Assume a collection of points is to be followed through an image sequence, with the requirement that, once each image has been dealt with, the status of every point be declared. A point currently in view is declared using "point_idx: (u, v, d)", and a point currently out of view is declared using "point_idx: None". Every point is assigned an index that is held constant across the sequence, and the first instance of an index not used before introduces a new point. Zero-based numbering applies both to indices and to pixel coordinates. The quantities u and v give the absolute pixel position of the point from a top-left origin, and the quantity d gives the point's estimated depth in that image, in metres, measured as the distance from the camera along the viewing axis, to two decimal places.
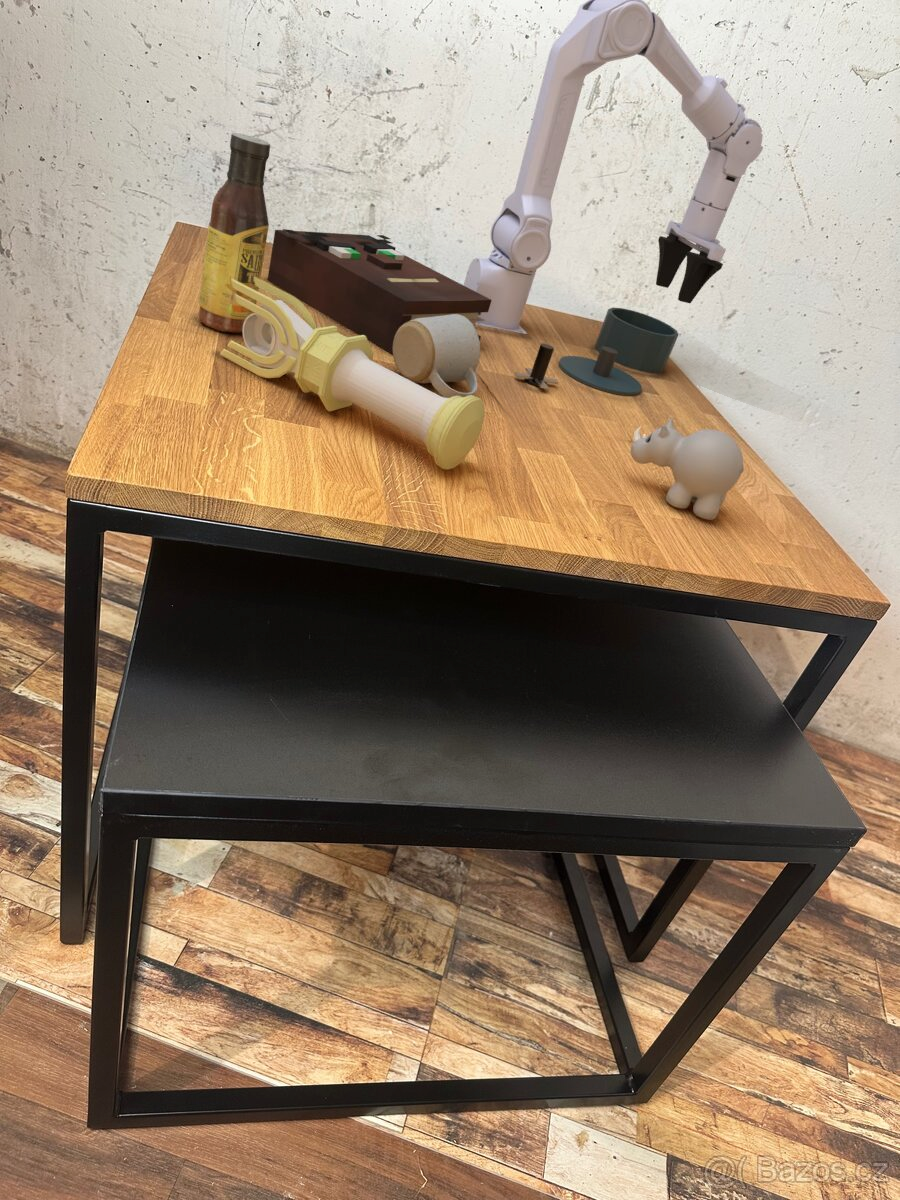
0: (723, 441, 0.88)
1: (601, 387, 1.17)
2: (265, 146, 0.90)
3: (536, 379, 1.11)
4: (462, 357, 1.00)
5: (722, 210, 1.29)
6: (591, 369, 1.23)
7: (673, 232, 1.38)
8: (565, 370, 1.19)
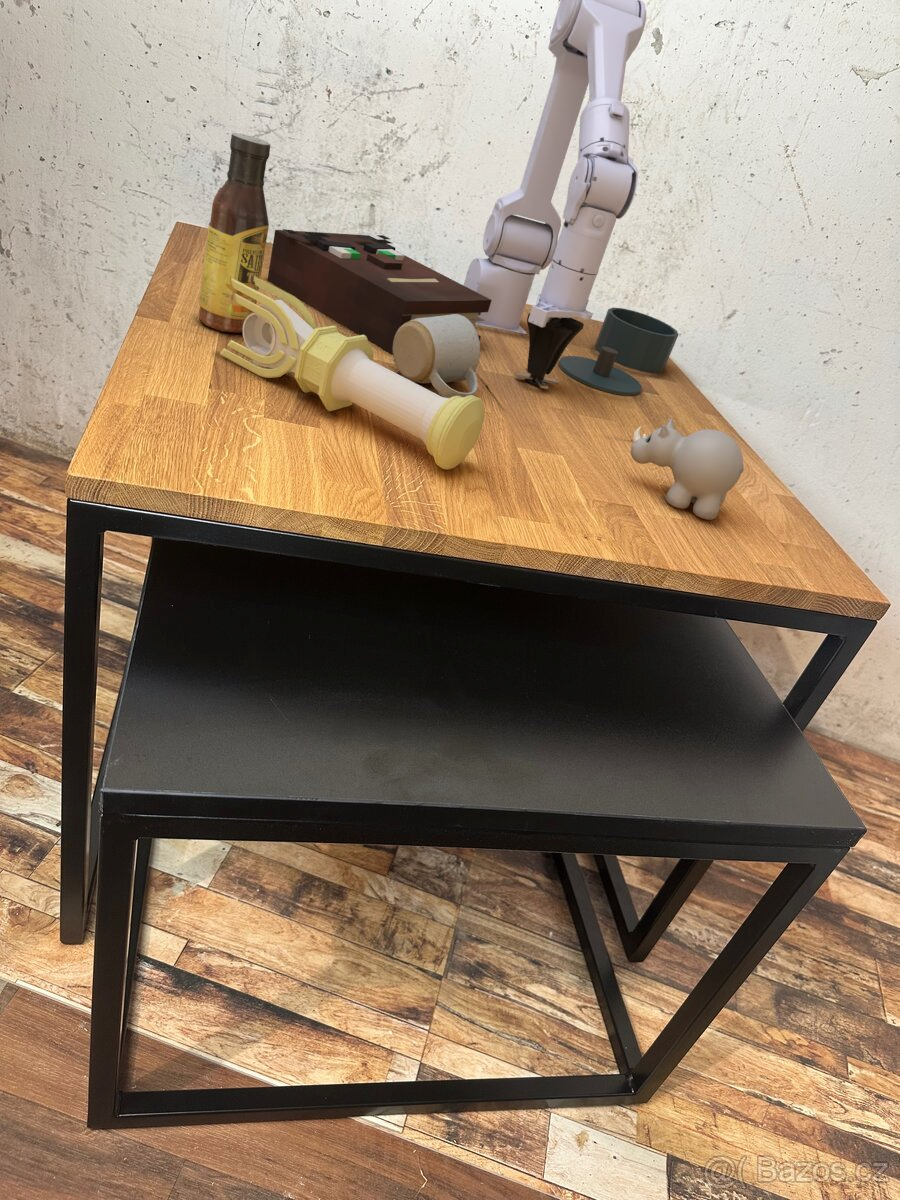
0: (724, 441, 0.88)
1: (601, 387, 1.17)
2: (265, 146, 0.90)
3: (536, 379, 1.11)
4: (462, 357, 1.00)
5: (572, 270, 1.02)
6: (591, 369, 1.23)
7: None
8: (565, 370, 1.19)
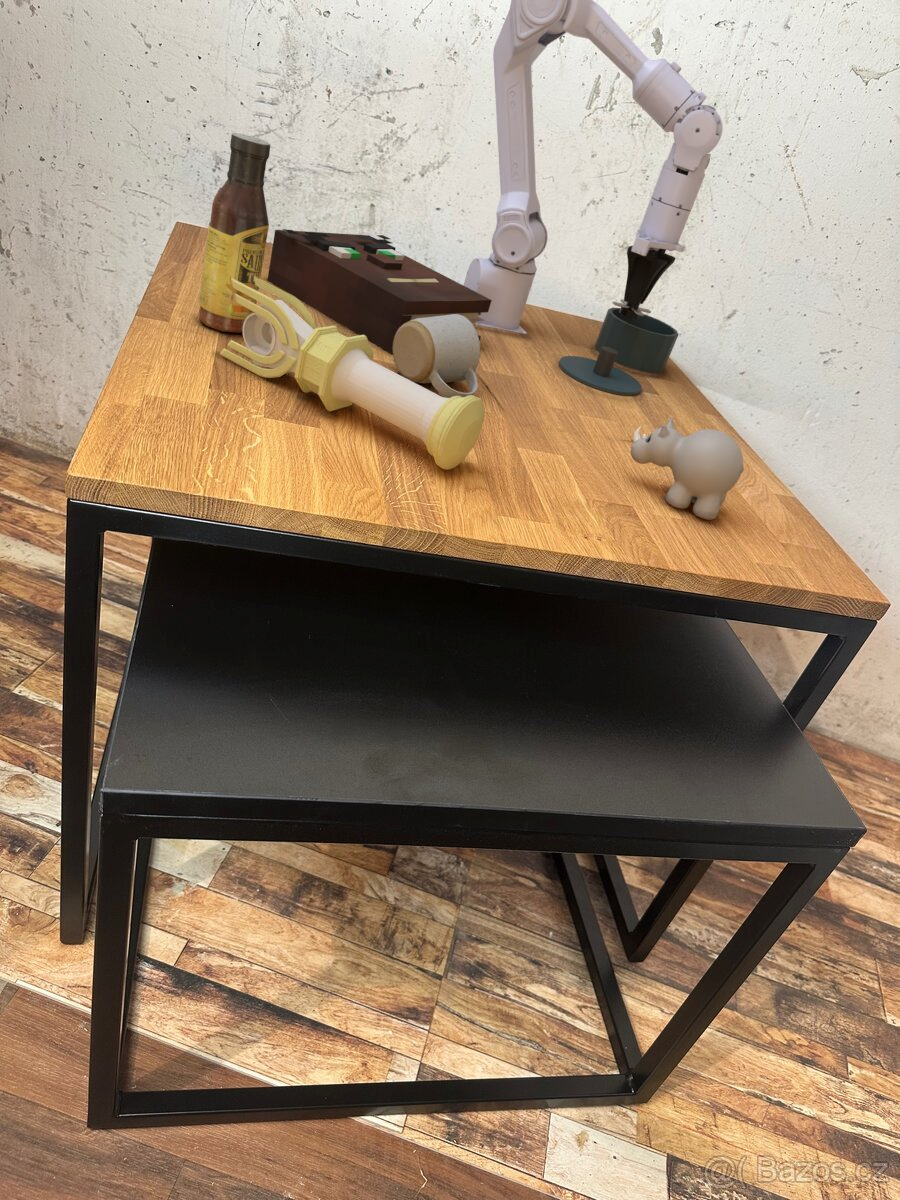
0: (724, 441, 0.88)
1: (601, 387, 1.17)
2: (265, 147, 0.90)
3: (632, 307, 1.25)
4: (462, 357, 1.00)
5: (671, 206, 1.16)
6: (591, 369, 1.23)
7: None
8: (565, 370, 1.19)
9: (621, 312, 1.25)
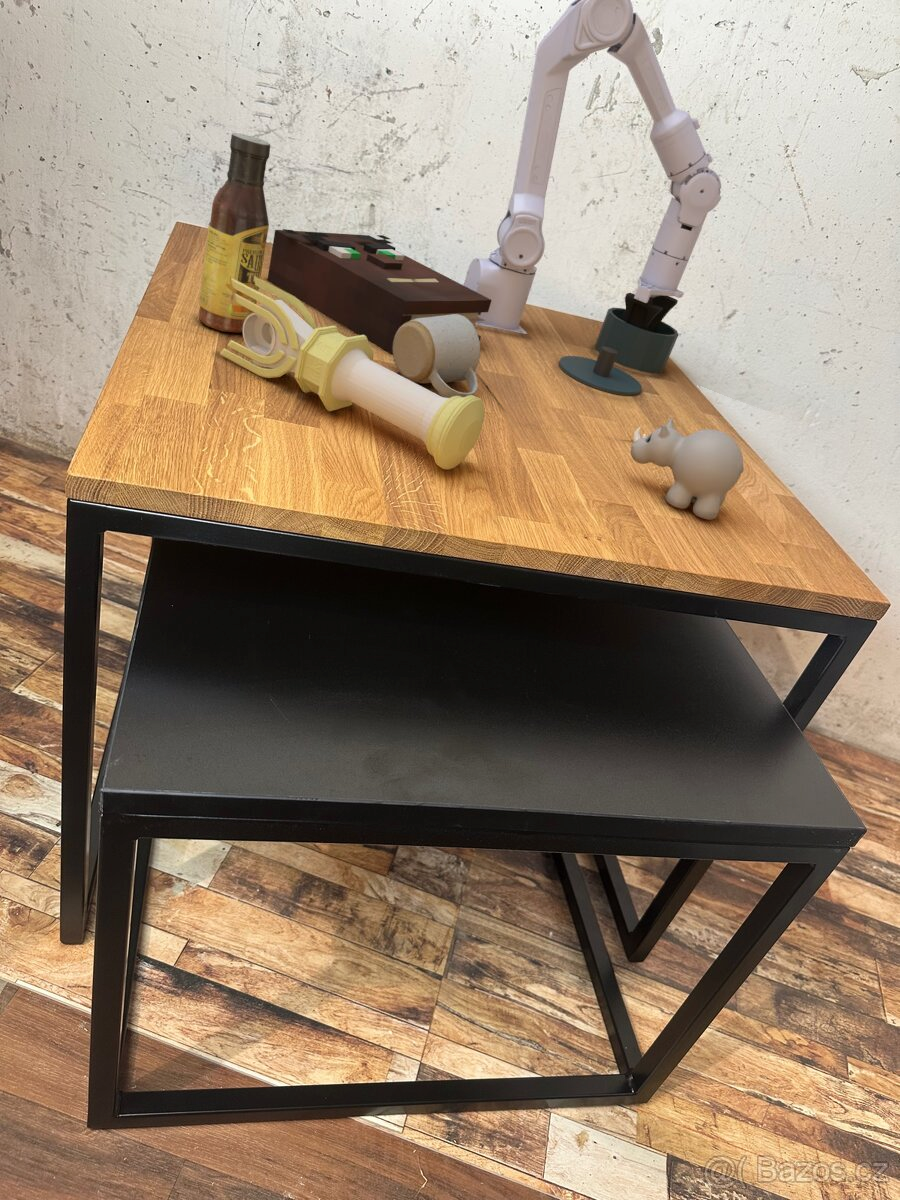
0: (724, 441, 0.88)
1: (601, 387, 1.17)
2: (265, 147, 0.90)
3: None
4: (462, 357, 1.00)
5: (670, 257, 1.25)
6: (591, 369, 1.23)
7: None
8: (565, 370, 1.19)
9: None
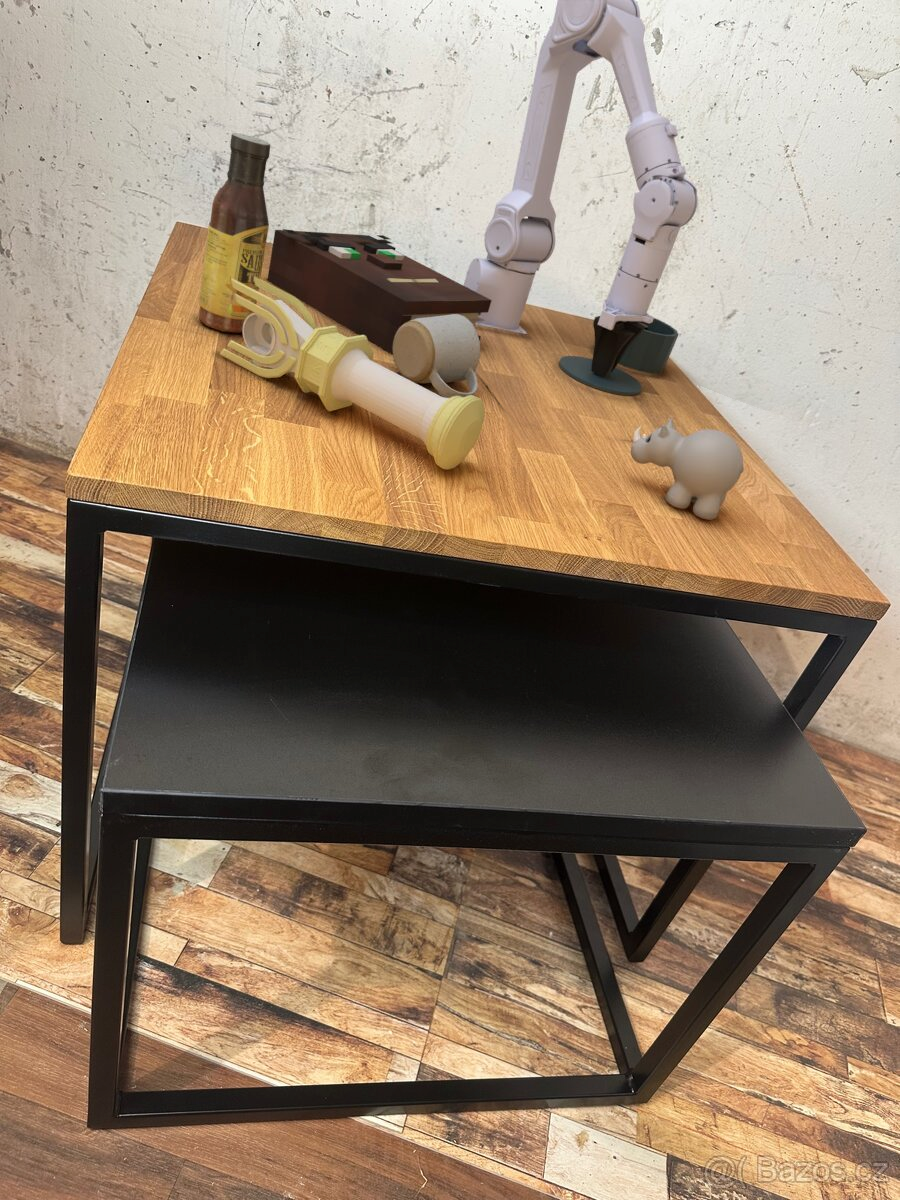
0: (723, 441, 0.88)
1: (601, 387, 1.17)
2: (265, 147, 0.90)
3: None
4: (462, 357, 1.00)
5: (638, 278, 1.13)
6: None
7: None
8: (565, 370, 1.19)
9: None
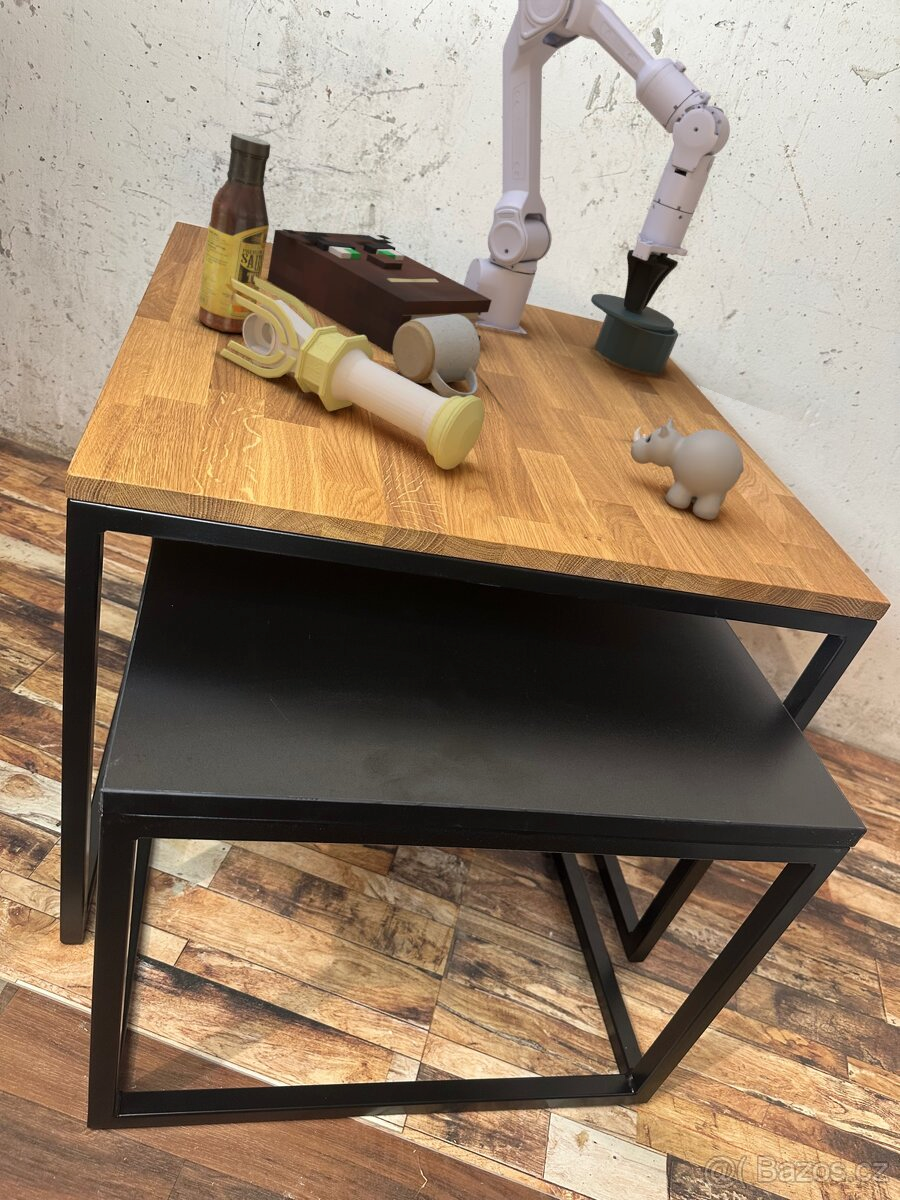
0: (723, 441, 0.88)
1: (634, 321, 1.17)
2: (265, 147, 0.90)
3: None
4: (462, 357, 1.00)
5: (673, 209, 1.12)
6: (623, 306, 1.23)
7: None
8: (598, 305, 1.19)
9: None
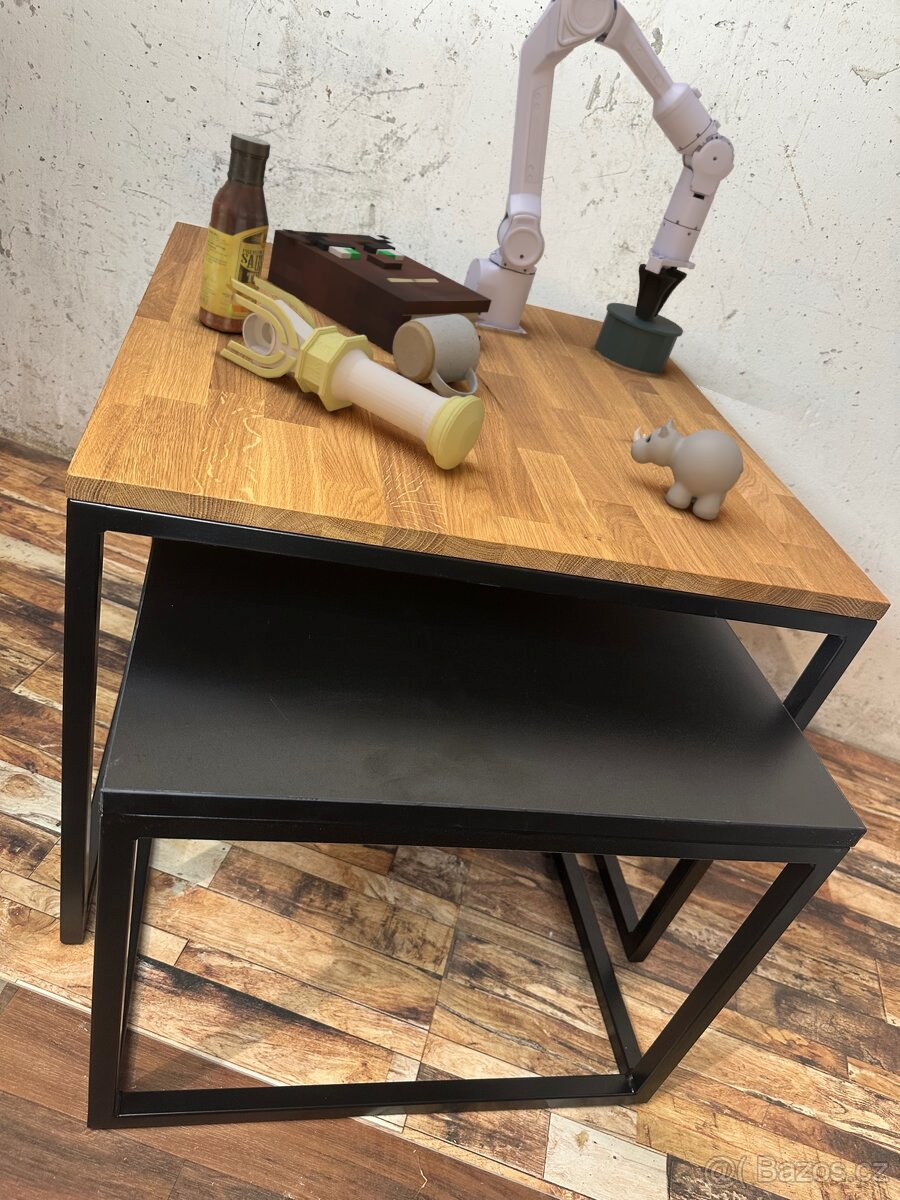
0: (723, 441, 0.88)
1: (647, 328, 1.27)
2: (265, 147, 0.90)
3: None
4: (462, 357, 1.00)
5: (682, 226, 1.23)
6: None
7: None
8: (613, 313, 1.30)
9: None
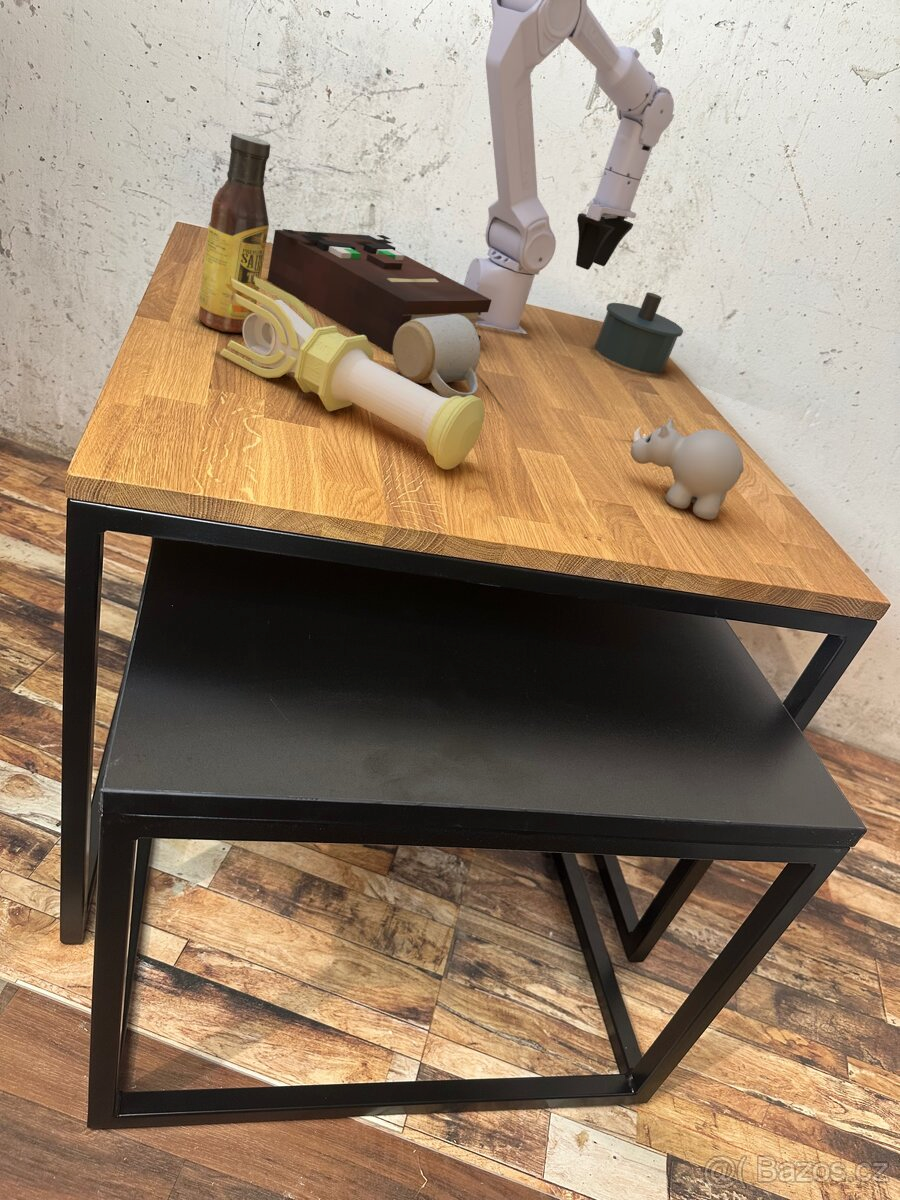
0: (723, 441, 0.88)
1: (647, 328, 1.27)
2: (265, 147, 0.90)
3: None
4: (462, 357, 1.00)
5: (622, 175, 1.27)
6: (636, 314, 1.33)
7: None
8: (613, 313, 1.30)
9: None
